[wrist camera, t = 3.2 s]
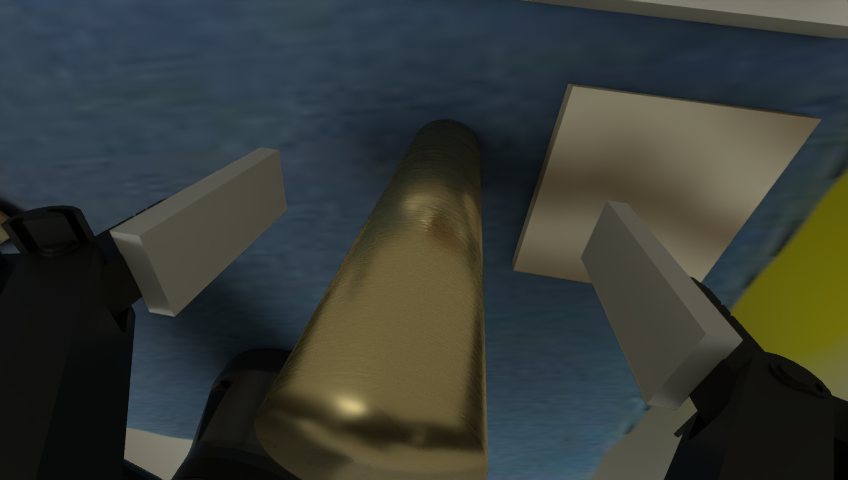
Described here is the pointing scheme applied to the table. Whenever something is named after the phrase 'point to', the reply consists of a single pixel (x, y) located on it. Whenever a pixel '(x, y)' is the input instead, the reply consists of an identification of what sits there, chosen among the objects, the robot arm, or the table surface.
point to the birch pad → (653, 174)
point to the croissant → (0, 232)
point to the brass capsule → (396, 336)
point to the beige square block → (737, 13)
